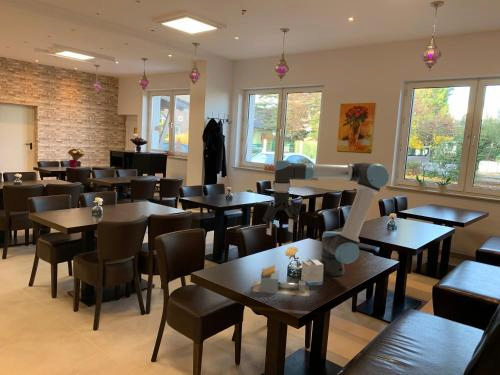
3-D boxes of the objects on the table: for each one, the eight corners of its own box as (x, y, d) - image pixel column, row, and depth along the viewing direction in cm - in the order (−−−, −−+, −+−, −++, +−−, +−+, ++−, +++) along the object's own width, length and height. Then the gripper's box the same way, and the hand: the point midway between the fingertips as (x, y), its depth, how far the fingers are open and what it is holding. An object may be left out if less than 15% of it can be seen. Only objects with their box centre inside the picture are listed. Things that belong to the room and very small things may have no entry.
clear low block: (304, 287, 182) (305, 280, 182) (305, 292, 176) (305, 285, 175) (275, 285, 183) (276, 278, 183) (275, 290, 177) (275, 283, 177)
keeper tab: (275, 266, 184) (274, 264, 184) (274, 273, 174) (273, 271, 174) (262, 270, 185) (262, 268, 185) (261, 277, 175) (260, 275, 175)
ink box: (322, 286, 188) (324, 261, 186) (307, 288, 185) (309, 262, 184) (315, 280, 196) (316, 256, 194) (300, 281, 193) (302, 256, 192)
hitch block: (278, 283, 186) (278, 270, 185) (277, 292, 174) (278, 279, 173) (262, 282, 187) (262, 269, 186) (260, 291, 175) (261, 278, 174)
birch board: (308, 287, 185) (308, 285, 185) (309, 298, 172) (309, 296, 172) (254, 283, 188) (254, 281, 188) (251, 293, 175) (251, 291, 175)
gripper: (296, 189, 195) (294, 229, 198) (256, 191, 182) (255, 234, 184) (305, 191, 189) (303, 232, 191) (265, 193, 175) (263, 237, 178)
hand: (279, 233), depth 188 cm, fingers open, 13 cm apart
